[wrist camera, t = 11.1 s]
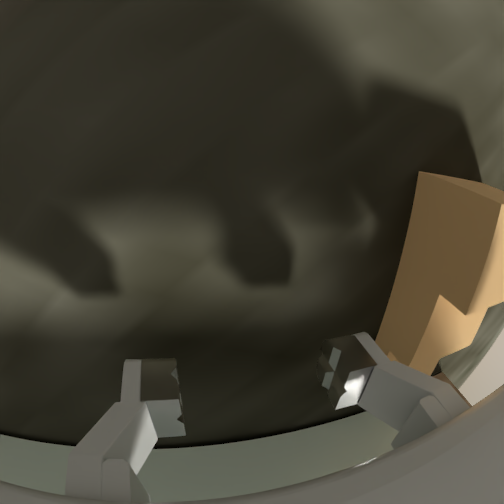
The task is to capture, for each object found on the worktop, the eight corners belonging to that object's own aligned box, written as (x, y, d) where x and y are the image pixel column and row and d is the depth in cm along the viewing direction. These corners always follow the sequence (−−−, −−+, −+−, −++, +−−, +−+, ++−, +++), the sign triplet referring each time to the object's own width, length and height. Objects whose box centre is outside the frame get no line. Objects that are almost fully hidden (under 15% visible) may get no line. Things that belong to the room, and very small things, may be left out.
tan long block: (413, 169, 11) (501, 203, 7) (477, 181, 12) (547, 211, 8) (353, 384, 16) (391, 443, 12) (416, 364, 17) (454, 410, 13)
